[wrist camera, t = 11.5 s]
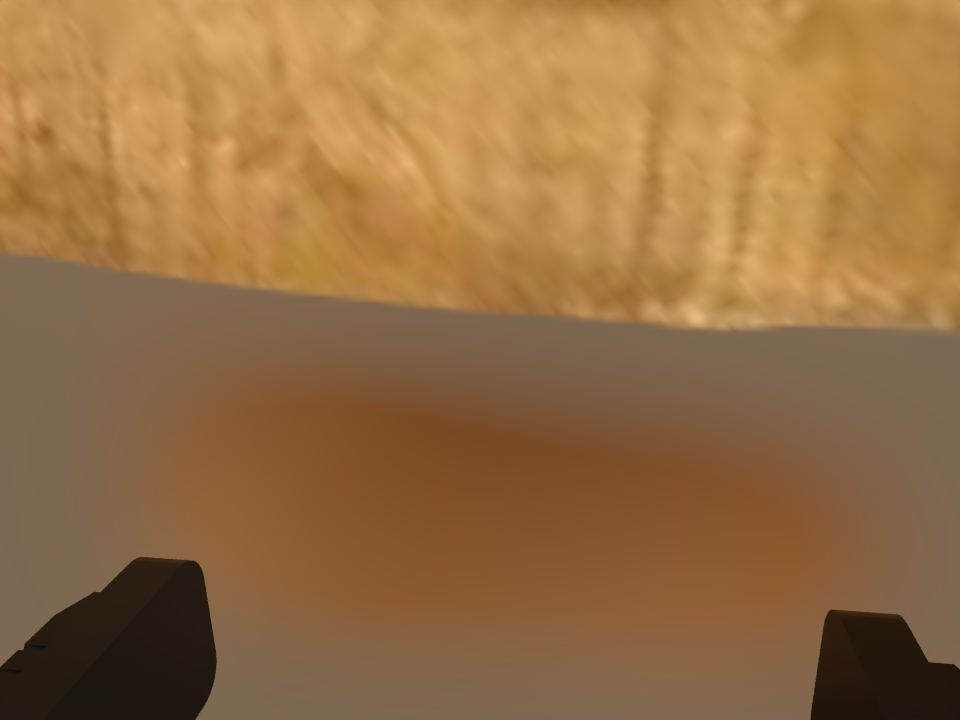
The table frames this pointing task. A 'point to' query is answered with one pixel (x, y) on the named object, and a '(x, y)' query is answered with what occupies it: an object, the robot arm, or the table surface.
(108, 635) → the robot arm
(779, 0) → the table surface
